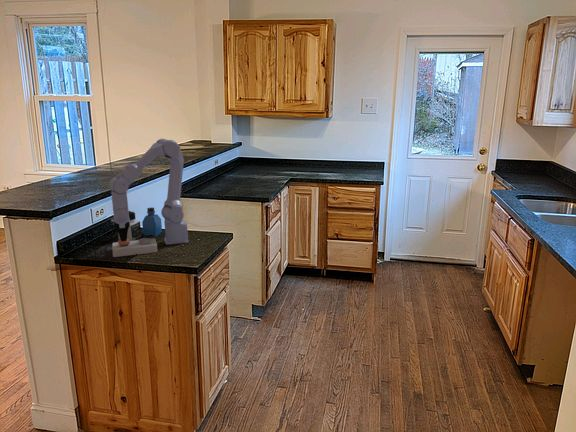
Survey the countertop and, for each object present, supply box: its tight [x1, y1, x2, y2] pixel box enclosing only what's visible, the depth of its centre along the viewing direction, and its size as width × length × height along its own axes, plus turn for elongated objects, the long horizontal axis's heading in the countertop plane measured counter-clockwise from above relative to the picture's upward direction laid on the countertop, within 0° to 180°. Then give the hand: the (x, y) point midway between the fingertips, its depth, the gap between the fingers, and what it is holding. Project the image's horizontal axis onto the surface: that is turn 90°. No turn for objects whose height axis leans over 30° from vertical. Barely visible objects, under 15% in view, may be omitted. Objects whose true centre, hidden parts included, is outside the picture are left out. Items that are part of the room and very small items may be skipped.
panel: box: [111, 237, 158, 258], centre depth 188 cm, size 17×10×3 cm, turn 110°
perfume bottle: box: [141, 207, 163, 237], centre depth 210 cm, size 6×6×12 cm
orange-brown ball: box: [117, 239, 131, 247], centre depth 186 cm, size 4×4×4 cm
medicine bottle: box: [117, 210, 142, 241], centre depth 204 cm, size 7×7×12 cm
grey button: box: [138, 237, 151, 244], centre depth 189 cm, size 4×4×4 cm
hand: (123, 240), depth 186 cm, fingers closed, pressing on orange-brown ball
